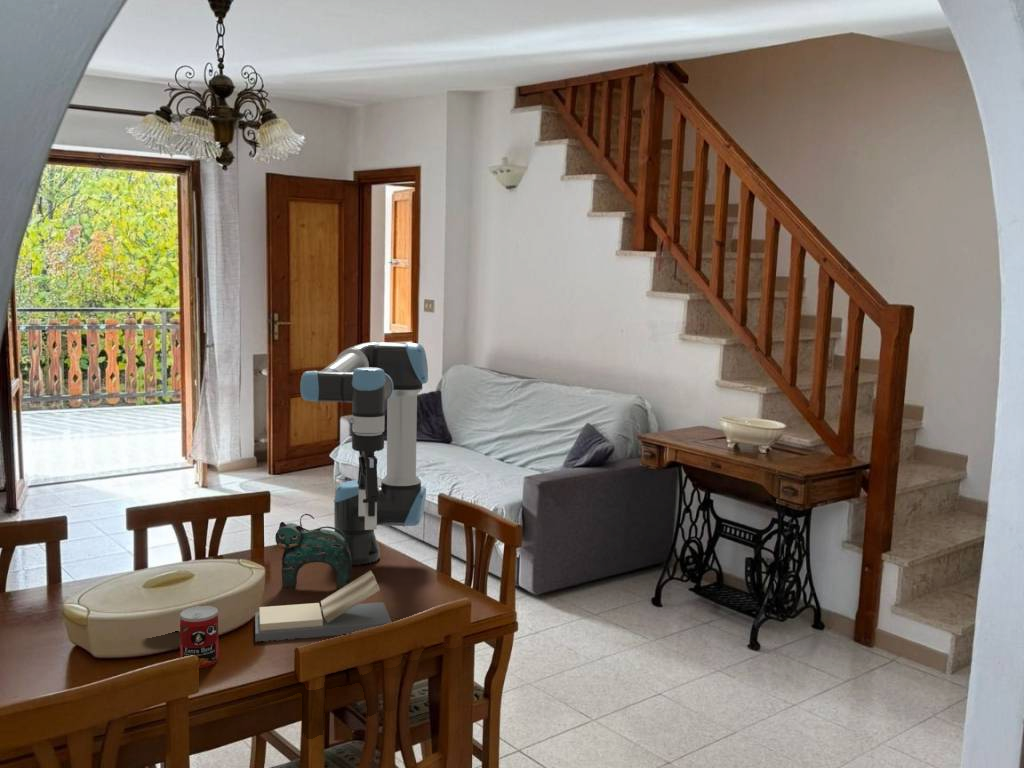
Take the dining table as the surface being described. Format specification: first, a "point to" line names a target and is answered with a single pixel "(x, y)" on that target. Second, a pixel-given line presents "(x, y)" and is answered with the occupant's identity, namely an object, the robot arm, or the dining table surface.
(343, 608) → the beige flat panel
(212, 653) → the canned food
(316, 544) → the ceramic cat
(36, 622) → the dining table surface
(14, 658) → the dining table surface
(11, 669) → the dining table surface
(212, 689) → the dining table surface
